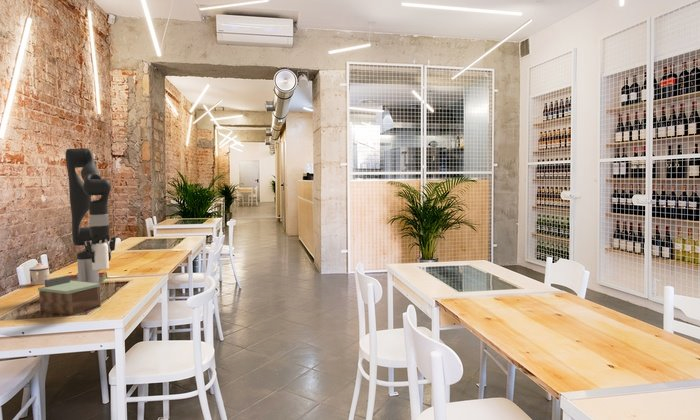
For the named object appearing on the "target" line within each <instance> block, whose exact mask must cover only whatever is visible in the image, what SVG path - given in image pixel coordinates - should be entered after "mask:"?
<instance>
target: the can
mask: <svg viewBox="0 0 700 420" xmlns="http://www.w3.org/2000/svg"><path fill="white" fill-rule="evenodd" d="M91 248H92V252H94V251H95V253H96V255H94V258H95V263H93V262H92V269H93V270H95V271H106V270H108V269H109V268H110V261H109V256H108V245H107V243H106V242H105V243H96V244H95V245H94V244H92V246H91Z"/></svg>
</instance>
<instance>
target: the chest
mask: <svg viewBox="0 0 700 420" xmlns="http://www.w3.org/2000/svg"><path fill="white" fill-rule="evenodd" d="M100 288H101V286H100V287H95V288H91V289H87V290H83V291H79V292H75V293H71V294H62V293H54V292H46V291H38V292H39V293H38V294H39V308H40V309H39V310H40V312H46V313H53V314H58V315H64V316H73V315H76V314H80V313H83V312H87V311H91V310H93V309H97V308H101V290H100Z"/></svg>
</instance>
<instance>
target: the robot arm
mask: <svg viewBox="0 0 700 420" xmlns="http://www.w3.org/2000/svg"><path fill="white" fill-rule="evenodd" d="M65 150H66V151H65V154H64V155H65V162H66V163H65V165H66V169H67V176H68V189H69V205H70V211H71V237H72V244H73V245H74V246H78V247H79V246H83V247H84V248H85V249H84V250H83V251H80V252H78V253H77V255H76V264H77V274H76V275H77V281H79V282H89V283H99V284H100V282H99V273H100V272H99V271H100V270H99V271H95V270H93V269H92V262H93V263H95V258H94V255H96V253H95V251H94V252H92V248H91V246H92V244H94V245H95V244H96V243H105V242H106V243H107V245H108V256H109V262H110V261H111V259H112V257H111V254H112V253H111V252H112V251H115V249H116V240H117V238H116V237H114V236H112V237H110V219H109V214H108V212H109V211H108V203H109V202H108V201H109V196H110V194H111V193H110V192H111V188H112V185H111V182H110V181H109V180H108V179H105V178H102V176H101V174H100V172H99V170H98V169H97V164H96V162H95V158H94V154H93V152H92V150H91V149H89V148H86V147H82V148H80V147H79V148H67V149H65ZM78 168H79V169H81V171H80V176H81V178H80V177H79V175H78V173H77V172H76V169H78ZM92 196H100V197H99V198H98V199H97V200H96V199H95V200H92ZM88 211H89V218H88V221H89V225H88V227H85V226H84V227H80V225H81V223H82V220H83V218H84V217H85V216H86V215H87V213H88Z"/></svg>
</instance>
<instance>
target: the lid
mask: <svg viewBox="0 0 700 420" xmlns="http://www.w3.org/2000/svg"><path fill="white" fill-rule="evenodd" d="M95 287H100V288H101V283H100V282H99V283H89V282H79V281H70V276H66V275H63V276H58V277H54V278H49V279H47V280H45V284H44V286H41V287H40V286H39V287H38V288H37V291H38V292H39V291H46V292H54V293H62V294H71V293H75V292H79V291H83V290H87V289H91V288H95Z"/></svg>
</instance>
